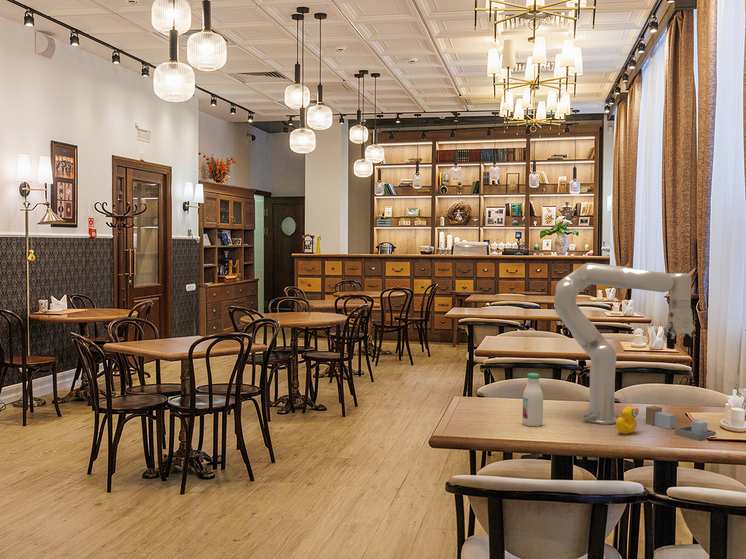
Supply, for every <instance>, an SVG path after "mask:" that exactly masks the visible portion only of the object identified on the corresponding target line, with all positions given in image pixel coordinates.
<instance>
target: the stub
mask: <svg viewBox="0 0 746 559" xmlns="http://www.w3.org/2000/svg"><path fill="white" fill-rule="evenodd" d="M690 426H691V432H692V433H695V434H702V433H707V429H708V422H707V421H704V420H699V419H694V420H691V425H690Z"/></svg>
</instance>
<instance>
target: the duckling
mask: <svg viewBox="0 0 746 559" xmlns="http://www.w3.org/2000/svg"><path fill="white" fill-rule="evenodd" d="M638 414H639V408H638V407H636V408H635V407H633V406H630V405H628V406H624V407H623V409H622V410H621V416H622V417H621V416H619V417H617V418H618V419H617V420H616V423H615V428H616V431H617V432H619V433H620V434H624V435H628V434H629V433H630V434H632V433H634V431H635V430H636V428H637V425H638V424H637V422H636V420H635V419H636V417H637V416H638Z"/></svg>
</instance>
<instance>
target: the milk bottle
mask: <svg viewBox="0 0 746 559" xmlns="http://www.w3.org/2000/svg"><path fill="white" fill-rule="evenodd" d="M540 385H541V384H540V374H539V373H537V372H535V373H534V372H530V373H527V384H526V386H525V388H524V390H523V395H522V397H523V398H522V424H523V425H524V426H526V425H527V427H534V426H536V427H541V426H540V425H542V426H543V421H544V420H543V419H544V393H543V390H542V387H541V386H540Z"/></svg>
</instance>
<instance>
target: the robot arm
mask: <svg viewBox="0 0 746 559" xmlns="http://www.w3.org/2000/svg"><path fill="white" fill-rule="evenodd" d="M590 285H594V286H595V285H596V286H601V287H602V286H604V287H612V288H619V289H627V290H628V289H631V290H642V291H650V292H656V293H657V292H658V293H667V292H669V308H668V311H667V312H668V314H667V321H666V325H665V326H664V327H663V332H664V333H663V334H664V336H665V339H666V349H668V350H675V346H676V345H675V343H676V339H675V337H676V335H683V337H682V338H683V339H682V347H684V348H689V349H691V347H692V338H693V335H694V331H695V328H696V326H695V325H694V319H693V318H694V317H693V310H692V308H691V307H692V306H691V305H692V304H691V302H692V301H691V300H692V275H691V273H686V272H673V273H671V272H670V273H669V272H663V271H653V270H652V271H651V270H642V269H638V268H632V267H629V266H624V265H623V266H621V265H613V264H611V265H610V264H602V263H594V262H586V263H584V264H582V265H581V266H579V267H578V268H577V269H575V270H573V271H571V273H570V274H568V275H566V276H565V277H563V278H562V279H560V280H559V281H558V282H557V283H556V285H555V295H554V299H553V305H554V310H555V312H556V315H557V316H558V318H559V319H560V320H561V321H562V323H563V324H564V325H565V327H566V328H567V329H568V331H570V333H571V336H572V338H574V340H575V342H577V343H578V345H579V346H580V348H582V349H583V351H584V353H586V354H587V356H588V357H589V358H590V366H589V400H588V402H589V403H588V404H589V406H588V407H589V408H587V411H586V412H585V411H584V412H581V413H580V417H581V418H583V419H584V420H586V421H587V422H589V423H594V424H598V423H599V424H601V425H612V424H616V420H617V419H618V418H619V417H617V416H615V390H616V389H615V388H616V387H615V386H616V382H615V381H616V380H615V379H616V366H617V352H616V350H615V348H614V346H613V345H612V344H610V343H609V342H608V341H607V340H606V339H605V337H604V336H603V335H602V333H600V332H601V331H599V330H598V329H597V327H596V325H595V324H594V323H593V322H592V321H590V319H589V318H588V317H587V316H586V315H585V313H584V312H583V311H582V310H581V309H580V307H579V306H578V304H577V297H578V295H579V293H580V292H582V291H583V290H585V289H586V288H588V287H589V286H590ZM599 424H598V425H599Z"/></svg>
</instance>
